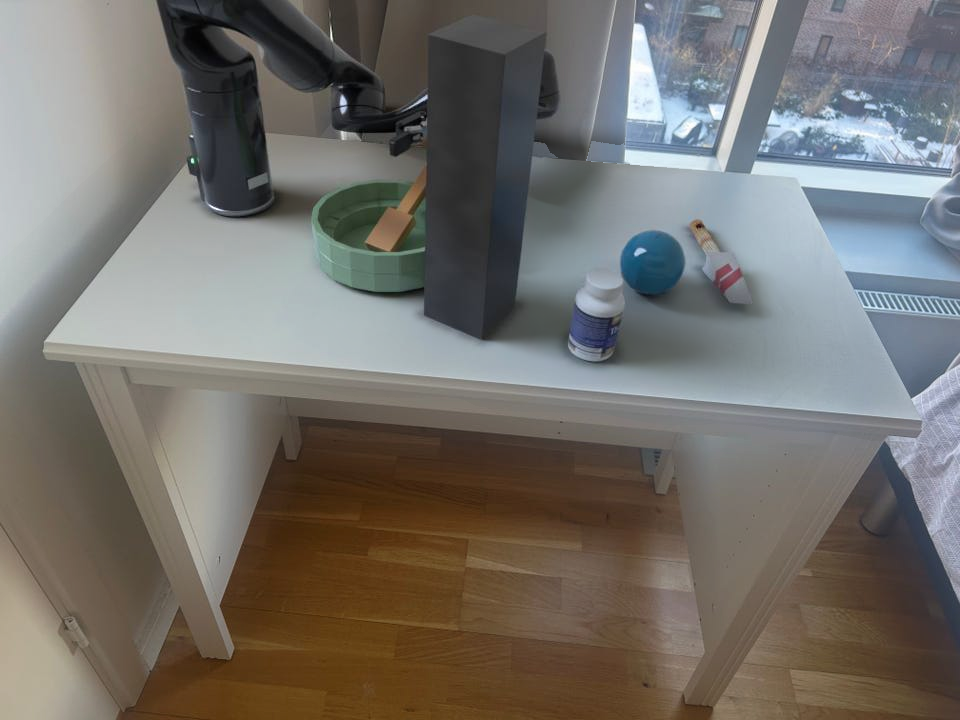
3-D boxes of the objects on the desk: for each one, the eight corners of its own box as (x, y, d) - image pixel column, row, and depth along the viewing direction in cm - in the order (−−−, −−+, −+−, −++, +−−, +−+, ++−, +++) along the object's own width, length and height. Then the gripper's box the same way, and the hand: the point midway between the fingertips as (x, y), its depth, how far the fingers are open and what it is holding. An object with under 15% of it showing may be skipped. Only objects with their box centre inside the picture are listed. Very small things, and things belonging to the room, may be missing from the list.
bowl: (285, 263, 94) (279, 222, 90) (373, 205, 106) (372, 166, 103) (405, 315, 87) (405, 273, 84) (485, 247, 100) (488, 207, 96)
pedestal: (423, 315, 88) (428, 34, 67) (459, 283, 93) (473, 14, 72) (481, 340, 85) (505, 54, 64) (515, 305, 90) (546, 32, 69)
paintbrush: (729, 292, 90) (685, 215, 105) (723, 311, 91) (681, 232, 107) (760, 293, 90) (712, 216, 106) (753, 312, 92) (707, 233, 107)
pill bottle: (612, 367, 83) (629, 296, 76) (564, 358, 83) (577, 287, 77) (615, 337, 87) (631, 268, 80) (569, 329, 87) (582, 260, 81)
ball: (687, 288, 96) (703, 234, 90) (658, 315, 91) (674, 260, 85) (633, 264, 99) (645, 211, 94) (602, 289, 94) (614, 235, 89)
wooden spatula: (393, 259, 95) (389, 252, 94) (368, 248, 96) (364, 242, 95) (454, 165, 100) (452, 157, 98) (429, 156, 101) (427, 148, 100)
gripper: (442, 79, 106) (373, 115, 95) (530, 105, 101) (468, 146, 90) (440, 130, 110) (375, 170, 100) (524, 156, 105) (465, 201, 95)
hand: (419, 158), depth 95 cm, fingers open, 8 cm apart
